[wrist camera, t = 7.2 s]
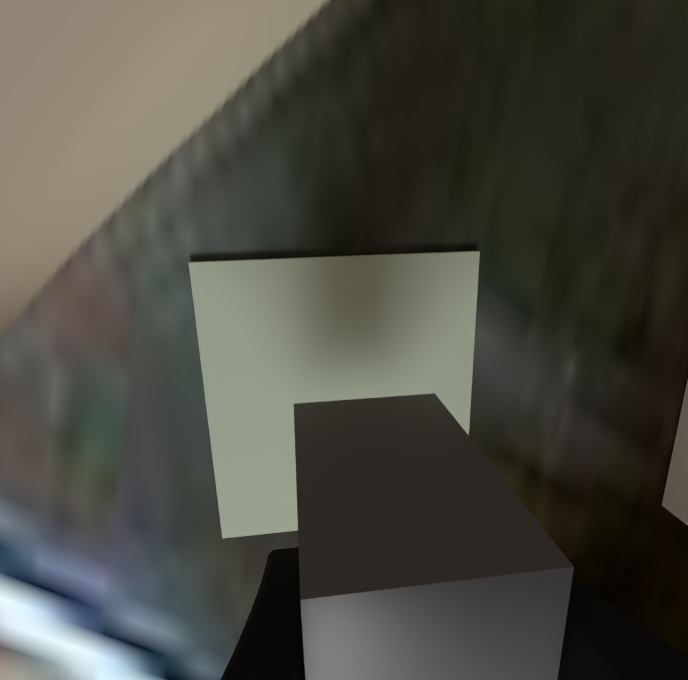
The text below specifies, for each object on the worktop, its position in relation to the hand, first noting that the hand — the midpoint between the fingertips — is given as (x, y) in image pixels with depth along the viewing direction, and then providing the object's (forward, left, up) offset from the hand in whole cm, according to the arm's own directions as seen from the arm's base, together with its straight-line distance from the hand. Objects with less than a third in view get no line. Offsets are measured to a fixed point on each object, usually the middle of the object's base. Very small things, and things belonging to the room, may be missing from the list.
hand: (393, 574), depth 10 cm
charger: (0, 0, -4) cm, 4 cm away
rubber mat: (0, 0, -9) cm, 9 cm away
